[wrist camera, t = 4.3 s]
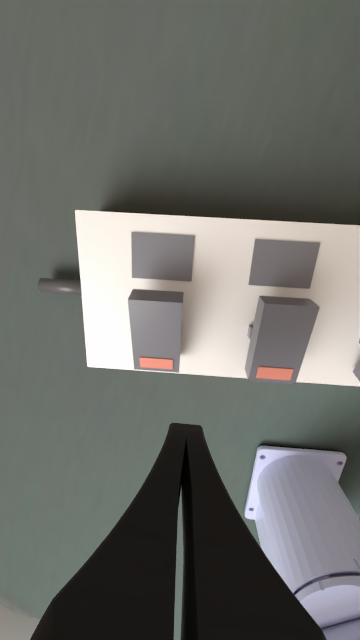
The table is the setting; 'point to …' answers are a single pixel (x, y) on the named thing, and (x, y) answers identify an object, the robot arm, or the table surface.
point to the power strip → (217, 286)
